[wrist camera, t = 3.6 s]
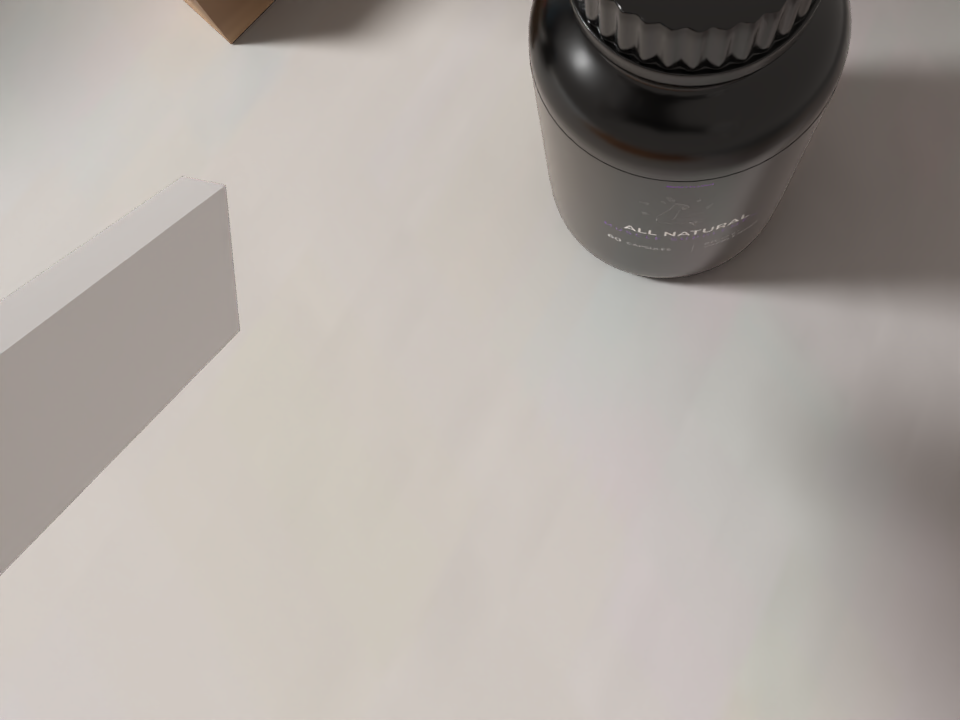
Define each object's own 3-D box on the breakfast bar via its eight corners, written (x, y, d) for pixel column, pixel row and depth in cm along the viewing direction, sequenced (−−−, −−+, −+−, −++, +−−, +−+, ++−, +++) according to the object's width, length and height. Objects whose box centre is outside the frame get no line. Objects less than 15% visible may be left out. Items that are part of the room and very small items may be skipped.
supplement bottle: (652, 331, 27) (671, 170, 15) (508, 167, 28) (424, -92, 17) (835, 183, 27) (996, -93, 15) (679, 28, 28) (716, -329, 17)
